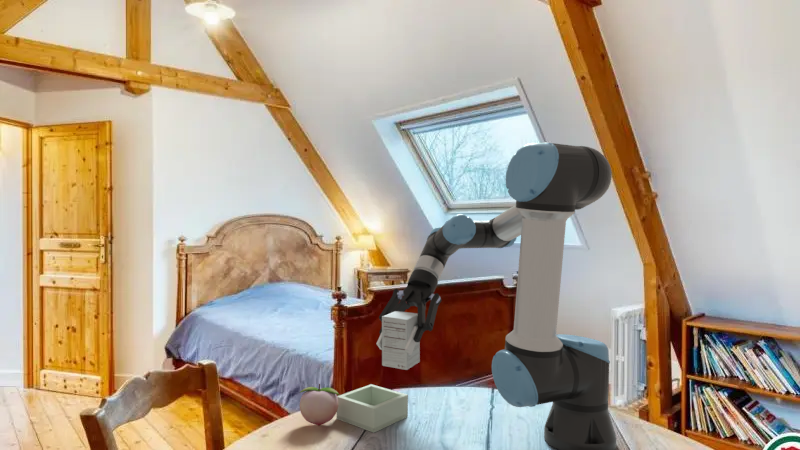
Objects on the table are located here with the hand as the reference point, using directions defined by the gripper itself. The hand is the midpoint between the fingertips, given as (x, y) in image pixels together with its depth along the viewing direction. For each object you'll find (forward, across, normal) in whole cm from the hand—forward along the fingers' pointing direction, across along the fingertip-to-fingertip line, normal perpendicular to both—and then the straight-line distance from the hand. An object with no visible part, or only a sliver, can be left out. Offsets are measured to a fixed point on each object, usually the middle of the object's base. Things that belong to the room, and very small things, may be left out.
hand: (393, 349), depth 127 cm
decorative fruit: (+22, +12, -2) cm, 25 cm away
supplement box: (+1, 0, -6) cm, 6 cm away
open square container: (+14, +4, -10) cm, 18 cm away
